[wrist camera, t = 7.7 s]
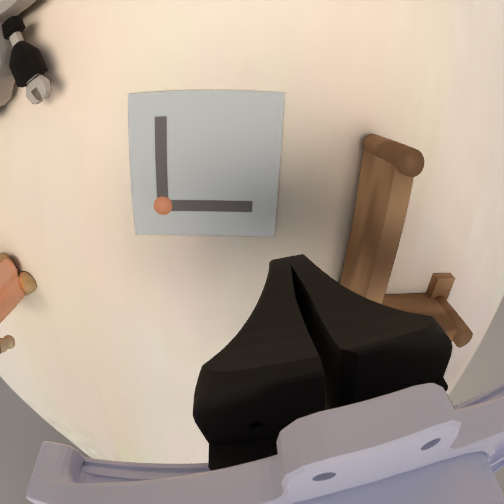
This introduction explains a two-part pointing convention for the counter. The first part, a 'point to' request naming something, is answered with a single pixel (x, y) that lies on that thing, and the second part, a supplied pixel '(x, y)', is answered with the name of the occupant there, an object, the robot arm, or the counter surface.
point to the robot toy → (19, 56)
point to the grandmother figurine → (12, 293)
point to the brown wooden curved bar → (379, 214)
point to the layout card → (205, 161)
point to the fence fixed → (434, 307)
